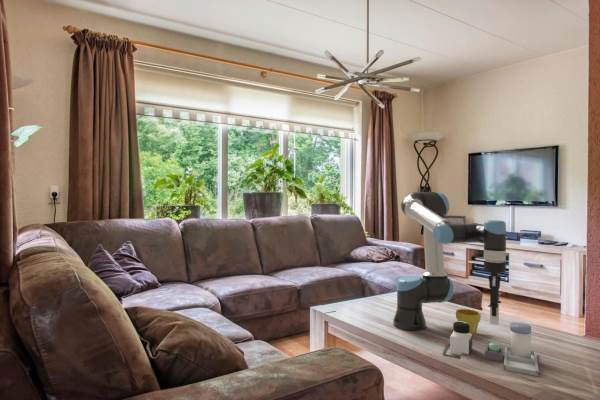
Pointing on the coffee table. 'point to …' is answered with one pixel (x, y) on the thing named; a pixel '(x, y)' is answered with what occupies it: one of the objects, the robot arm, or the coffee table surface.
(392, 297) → the coffee table surface
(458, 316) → the plant pot
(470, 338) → the medicine bottle
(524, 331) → the cream and blue canister
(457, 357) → the frame
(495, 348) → the button
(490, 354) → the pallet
